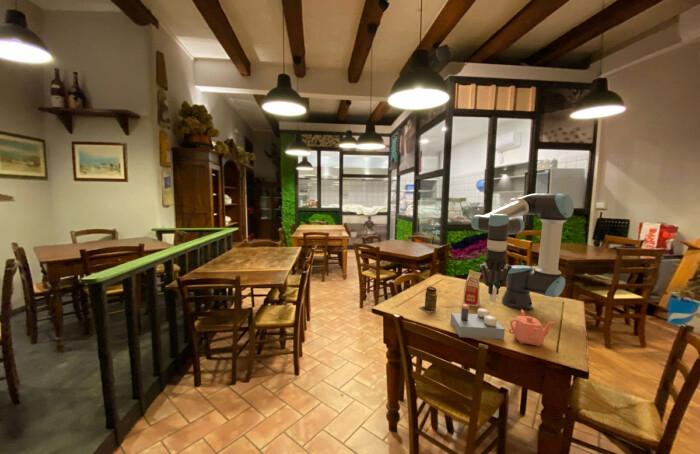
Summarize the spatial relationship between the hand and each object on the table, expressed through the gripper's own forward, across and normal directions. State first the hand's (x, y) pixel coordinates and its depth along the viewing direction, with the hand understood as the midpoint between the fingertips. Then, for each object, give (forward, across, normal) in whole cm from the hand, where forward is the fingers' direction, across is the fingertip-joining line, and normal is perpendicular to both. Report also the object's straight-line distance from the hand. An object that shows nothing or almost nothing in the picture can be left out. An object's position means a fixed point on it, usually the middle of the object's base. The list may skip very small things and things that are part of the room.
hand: (492, 301), depth 121 cm
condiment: (+16, +22, -26) cm, 38 cm away
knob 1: (+15, +1, -8) cm, 17 cm away
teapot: (+17, -16, +3) cm, 23 cm away
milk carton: (+17, -5, -38) cm, 42 cm away
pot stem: (+11, +10, -4) cm, 16 cm away
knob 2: (+15, +1, 0) cm, 15 cm away
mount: (+16, +5, -4) cm, 17 cm away
